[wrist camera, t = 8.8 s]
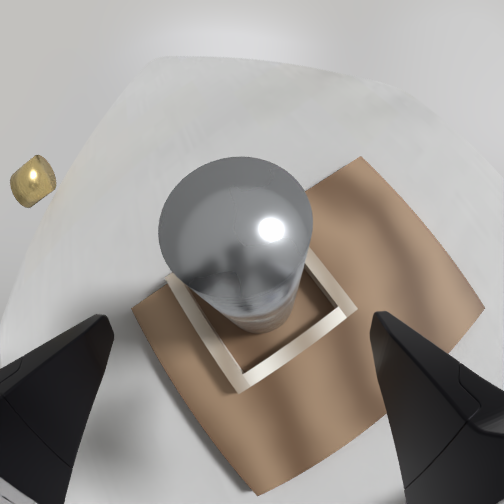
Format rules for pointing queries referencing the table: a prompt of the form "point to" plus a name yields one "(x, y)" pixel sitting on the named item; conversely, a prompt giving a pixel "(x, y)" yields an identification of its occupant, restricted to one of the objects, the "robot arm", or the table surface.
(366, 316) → the board
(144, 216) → the table surface
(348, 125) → the table surface
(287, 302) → the grey cylinder
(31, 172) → the shiny gold nugget
